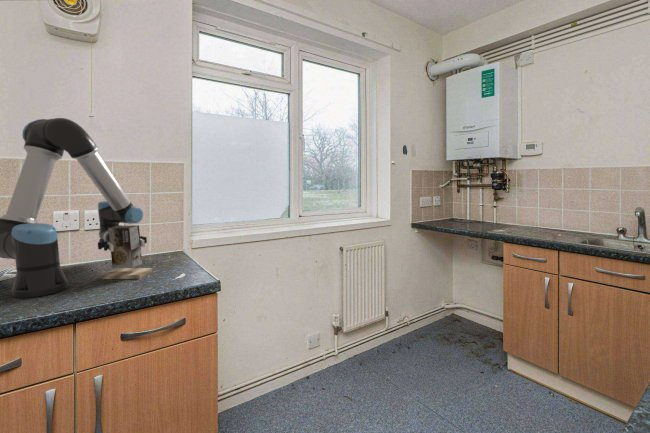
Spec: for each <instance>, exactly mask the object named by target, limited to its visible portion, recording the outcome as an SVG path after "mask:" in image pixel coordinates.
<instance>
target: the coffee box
mask: <svg viewBox="0 0 650 433" xmlns="http://www.w3.org/2000/svg"><path fill="white" fill-rule="evenodd" d="M108 230H109V239H110V243H112V244H113V249H114V251H113V252H111V251H110V255H111V256H110V258H111V267H112V268H136V267H137V266H140V265H143V258H142V247H141V243H140V236H141V233H140V225H137V224H135V225H133V224H130V225H125V224H124V225H121V224H119V226H115V227H111V228H108Z"/></svg>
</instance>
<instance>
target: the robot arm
mask: <svg viewBox="0 0 650 433" xmlns="http://www.w3.org/2000/svg"><path fill="white" fill-rule="evenodd" d="M22 139H23V140H24V141H23V142H24V145H23V150H25V152H26V156H25V158H24V161H23V164H22V167H21V170H20V173H19V176H18V179H17V181H16V185H15V187H14V190H13V193H12V196H11V198H10V201H9V204H8V207H7V210H6V213H5V214H4V215H2V216H0V258H2V259H8V260H9V259H10V260H15V261H14V262H15V267H16V268H15V271H16V274H15V278H14V282H13V284H12V288H11V295H12V297H13V298H16V297H17V298H18V299H27V298H38V297H43V296H48V295H52V294H55V293H59V292H62V291H65V289H67V288H68V287H69V282H68V278H67V277H66V275H65V273H64V271H63V269H62V267H61V260H60V252H59V250H60V249H59V241H58V239H59V236H58V233H57V232H58V231H57V228H56V226H54V225H52V224H48V223H39V222H38V221H37V218H38V215H39V212H40V210H41V206H42V203H43V200H44V197H45V195H46V194H45V193H46V191H47V188H48V186H49V182H50V179H51V176H52V173H53V170H54V167H55V164H56V162H57V161H59V160H62V158H63V156H64V152H67V153H68V154H69V156H70V157H71V159H74V160H77V162H78V164H79V165H80V166H81V167H82V169H83V170H84V171H85V173H86V175H87V176H88V177H89V178H90V181H91V182H92V183H93V184H94V185H95V187H96V188H97V190H98V191H99V193H100V194H101V195H102V197H103V199H105V201H99V202H98V205H97V212H98V220H99V232H98V236H99V238H100V239H99V241H98V242H97V250H102V249H103V251H105V252H106V251H110V253H111V252H113V251H114V249H113V244H112V243H110V239H109V230H108V228H111V227H115V226H119V225H120V223H122V224H130V225H133V224H138V223H141V221H142V220H143V218H144V211H143V209H141V207H139V206H135V205H133V203H132V202H131V200H130V199H129V197H128V195H127V194H126V192H125V191H124V189H123V187H121V185H120V184H119V182H118V180H117V179H116V178H115V176H114V175H113V173H112V172H111V170H110V169H109V167H108V166H107V164H106V163H105V161H104V159H103V158H102V156H101V155H100V154H99V152H98V151H97V150H98V148H99V147H98V146H97V145H96V142H95V141H94V140H93V139H92V137H91V136H90V135H89V133H88V132H87V131H86V130H85V129H84V128H83V127H82V126H81V125H80V124H78V123H77V122H76V121H73V120H71V119H68V118H65V117H56V118H55V117H54V118H47V119H46V118H42V119H40V118H39V119H35V120H33V121H30V122H28V123H27V124H26V125H25V126H24V127H23V130H22ZM147 242H148V240H147V237H146V236H143V235H140V243H141V248H145V247H146V246H145V244H148V243H147Z"/></svg>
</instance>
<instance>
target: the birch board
mask: <svg viewBox="0 0 650 433" xmlns="http://www.w3.org/2000/svg"><path fill="white" fill-rule="evenodd" d="M152 272H153V268H152V267H151V268H150V267H115V268H114V269H112V270H109V271H107V272H105V273H103V274H101V275H100V280H136V279H137V280H140V279H142V278H143V277H145V276H147V275H149V274H150V273H152Z"/></svg>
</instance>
